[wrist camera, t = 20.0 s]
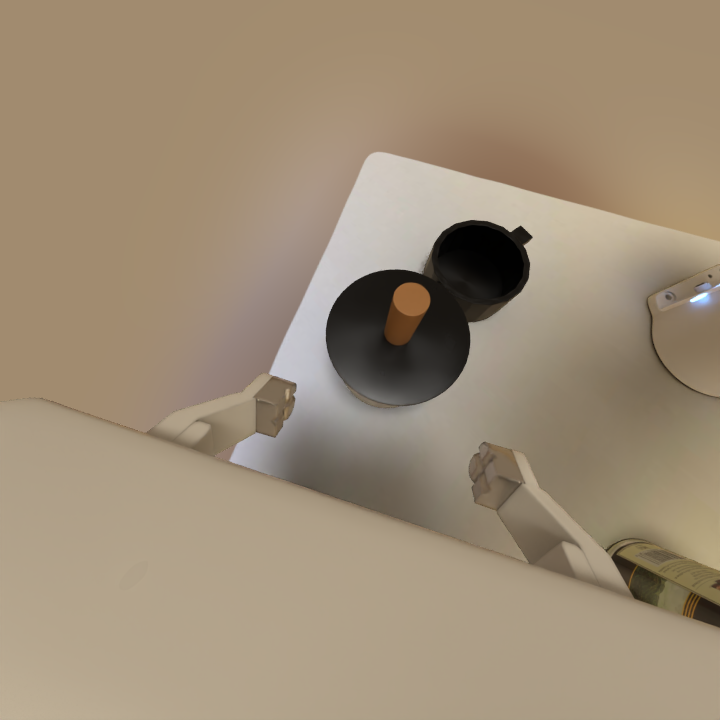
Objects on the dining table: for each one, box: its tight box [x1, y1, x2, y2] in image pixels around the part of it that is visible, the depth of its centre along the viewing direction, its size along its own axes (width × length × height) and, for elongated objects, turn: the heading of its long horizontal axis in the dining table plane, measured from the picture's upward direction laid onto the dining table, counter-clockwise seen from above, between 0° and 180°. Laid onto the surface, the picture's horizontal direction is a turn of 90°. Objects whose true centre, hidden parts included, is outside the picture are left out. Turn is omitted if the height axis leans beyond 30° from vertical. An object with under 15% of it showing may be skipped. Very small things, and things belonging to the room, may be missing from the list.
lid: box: [326, 270, 470, 406], centre depth 21 cm, size 14×14×8 cm
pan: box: [423, 220, 533, 322], centre depth 36 cm, size 13×18×6 cm
